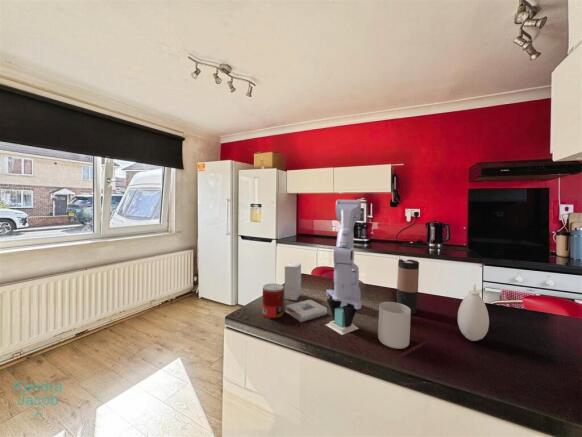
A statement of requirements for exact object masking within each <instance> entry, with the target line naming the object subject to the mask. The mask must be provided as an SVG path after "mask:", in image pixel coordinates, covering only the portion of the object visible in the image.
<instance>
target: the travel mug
mask: <svg viewBox="0 0 582 437" xmlns="http://www.w3.org/2000/svg"><path fill="white" fill-rule="evenodd" d="M397 262H398V263H397V280H396V281H397V283H396V284H397V286H396V303H400V304H403V305H405V306H407V307H409V308H410V310H411V315H414V314H416V313H417V310H418V295H419V277H420V276H419V275H420V274H419V273H420V262H419V261H418V260H414V259H407V260H404V259H398V261H397Z"/></svg>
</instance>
